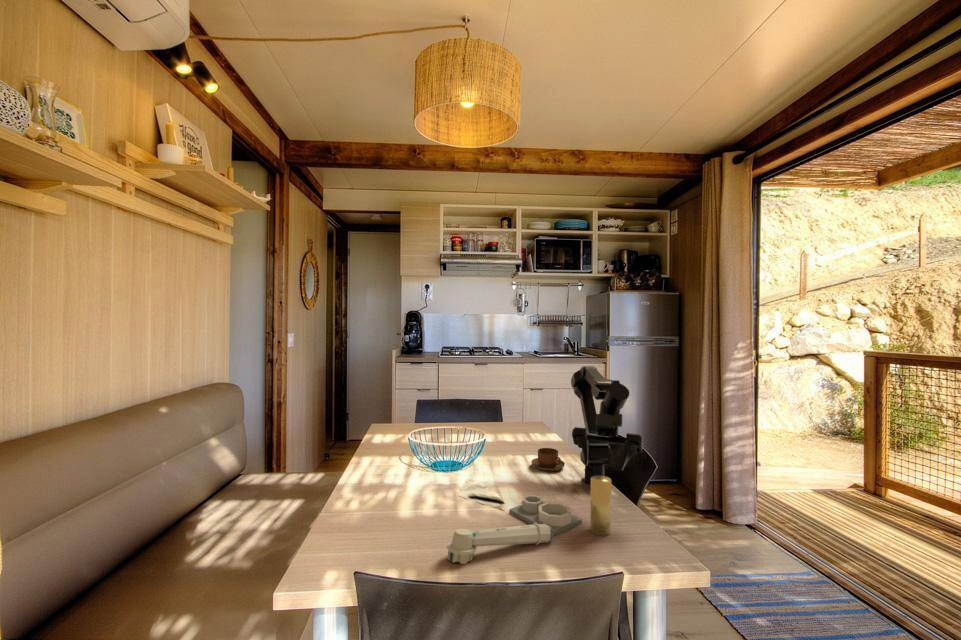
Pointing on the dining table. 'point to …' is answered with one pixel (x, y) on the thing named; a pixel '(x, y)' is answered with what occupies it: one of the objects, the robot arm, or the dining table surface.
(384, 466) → the dining table surface
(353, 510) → the dining table surface
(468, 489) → the cloth
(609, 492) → the brass tumbler cup
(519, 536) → the cream long-handled tool
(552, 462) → the cup and saucer
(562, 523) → the board
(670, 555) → the dining table surface
